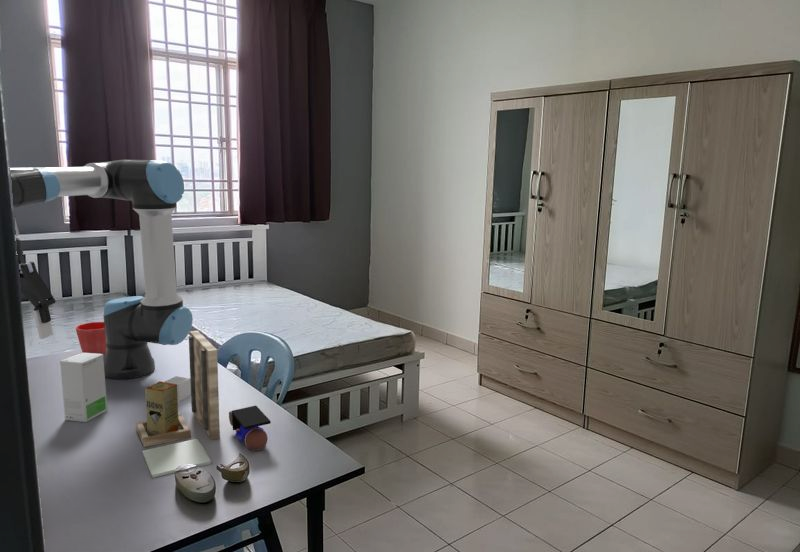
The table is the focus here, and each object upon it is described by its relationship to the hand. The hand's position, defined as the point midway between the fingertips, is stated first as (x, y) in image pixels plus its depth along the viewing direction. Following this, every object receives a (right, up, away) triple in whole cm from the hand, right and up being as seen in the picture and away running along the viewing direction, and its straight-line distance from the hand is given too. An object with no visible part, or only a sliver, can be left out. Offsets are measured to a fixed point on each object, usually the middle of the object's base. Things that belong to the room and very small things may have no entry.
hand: (22, 334), depth 127 cm
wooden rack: (+28, -25, +15) cm, 40 cm away
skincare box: (+2, -23, +22) cm, 32 cm away
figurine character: (+47, -26, +11) cm, 55 cm away
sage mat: (+33, -28, +1) cm, 43 cm away
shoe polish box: (+26, -25, +13) cm, 38 cm away
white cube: (+21, -21, +35) cm, 46 cm away
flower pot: (-20, -13, +69) cm, 73 cm away
